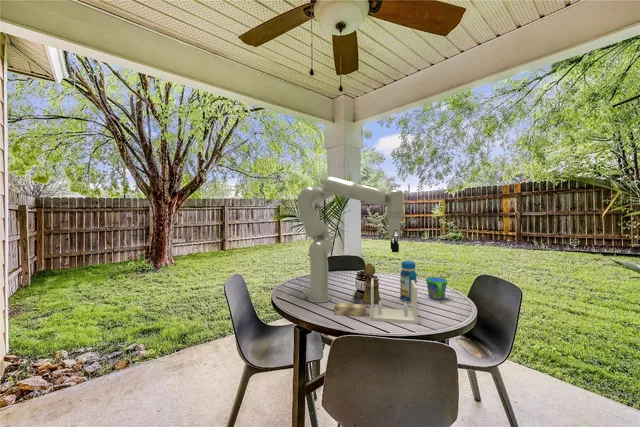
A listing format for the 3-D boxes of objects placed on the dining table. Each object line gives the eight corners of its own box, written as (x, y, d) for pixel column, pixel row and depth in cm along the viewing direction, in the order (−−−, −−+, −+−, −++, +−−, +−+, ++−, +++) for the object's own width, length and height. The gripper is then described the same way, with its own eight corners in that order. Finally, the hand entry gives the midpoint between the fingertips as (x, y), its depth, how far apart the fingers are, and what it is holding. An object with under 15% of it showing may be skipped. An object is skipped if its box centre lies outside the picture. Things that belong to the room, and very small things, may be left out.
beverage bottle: (417, 303, 142) (418, 264, 142) (400, 302, 144) (400, 263, 143) (415, 298, 150) (415, 260, 150) (399, 297, 152) (399, 260, 152)
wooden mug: (377, 295, 155) (377, 263, 154) (382, 304, 141) (382, 268, 141) (361, 295, 155) (361, 263, 155) (364, 304, 141) (364, 268, 141)
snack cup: (449, 304, 141) (449, 283, 141) (427, 302, 144) (427, 282, 144) (444, 294, 156) (444, 276, 156) (424, 293, 159) (424, 275, 159)
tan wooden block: (334, 315, 128) (334, 306, 128) (336, 311, 133) (335, 302, 133) (365, 317, 125) (365, 308, 125) (365, 313, 130) (365, 304, 130)
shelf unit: (369, 320, 122) (369, 285, 121) (370, 310, 133) (370, 278, 133) (418, 323, 118) (418, 287, 117) (414, 313, 129) (414, 280, 129)
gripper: (386, 215, 146) (385, 247, 146) (387, 216, 129) (387, 253, 129) (401, 215, 144) (400, 248, 145) (404, 216, 127) (404, 253, 128)
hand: (394, 250), depth 137 cm, fingers open, 9 cm apart
